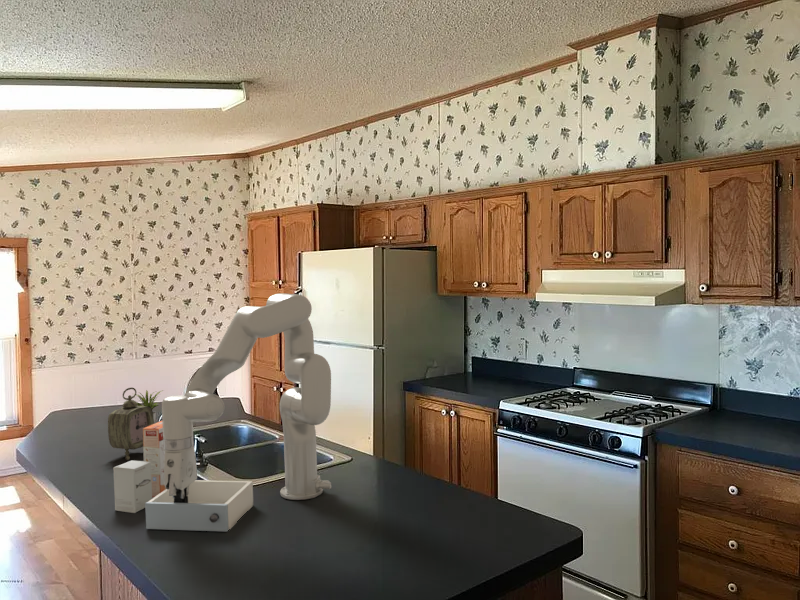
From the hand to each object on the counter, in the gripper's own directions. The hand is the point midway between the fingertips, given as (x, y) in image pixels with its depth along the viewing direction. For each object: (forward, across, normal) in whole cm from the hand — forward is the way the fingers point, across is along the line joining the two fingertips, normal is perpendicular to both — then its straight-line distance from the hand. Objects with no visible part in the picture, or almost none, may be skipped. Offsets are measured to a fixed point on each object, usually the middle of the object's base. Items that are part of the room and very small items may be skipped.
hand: (181, 511), depth 179 cm
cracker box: (+4, +26, +18) cm, 32 cm away
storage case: (+4, +6, -3) cm, 8 cm away
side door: (+3, -4, -3) cm, 6 cm away
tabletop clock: (+4, +61, +49) cm, 79 cm away
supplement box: (+4, +11, +20) cm, 23 cm away
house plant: (+4, +104, +65) cm, 123 cm away
